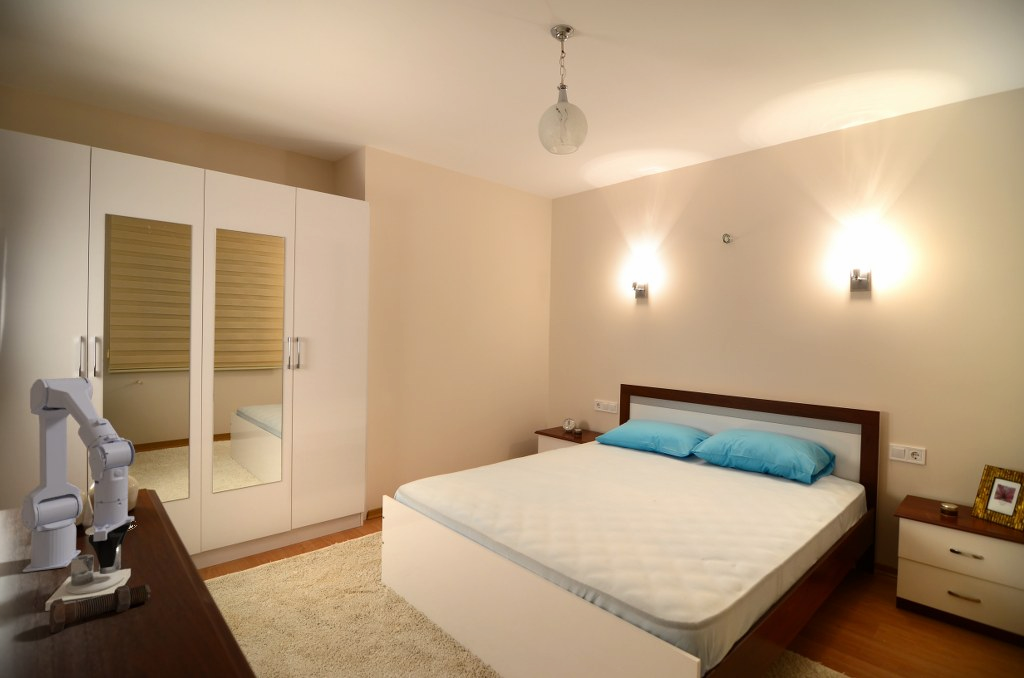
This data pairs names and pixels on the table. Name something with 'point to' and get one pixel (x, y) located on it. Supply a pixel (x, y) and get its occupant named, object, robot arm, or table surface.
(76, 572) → the spacer
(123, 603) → the bolt
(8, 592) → the table surface
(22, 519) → the robot arm
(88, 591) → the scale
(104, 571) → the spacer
